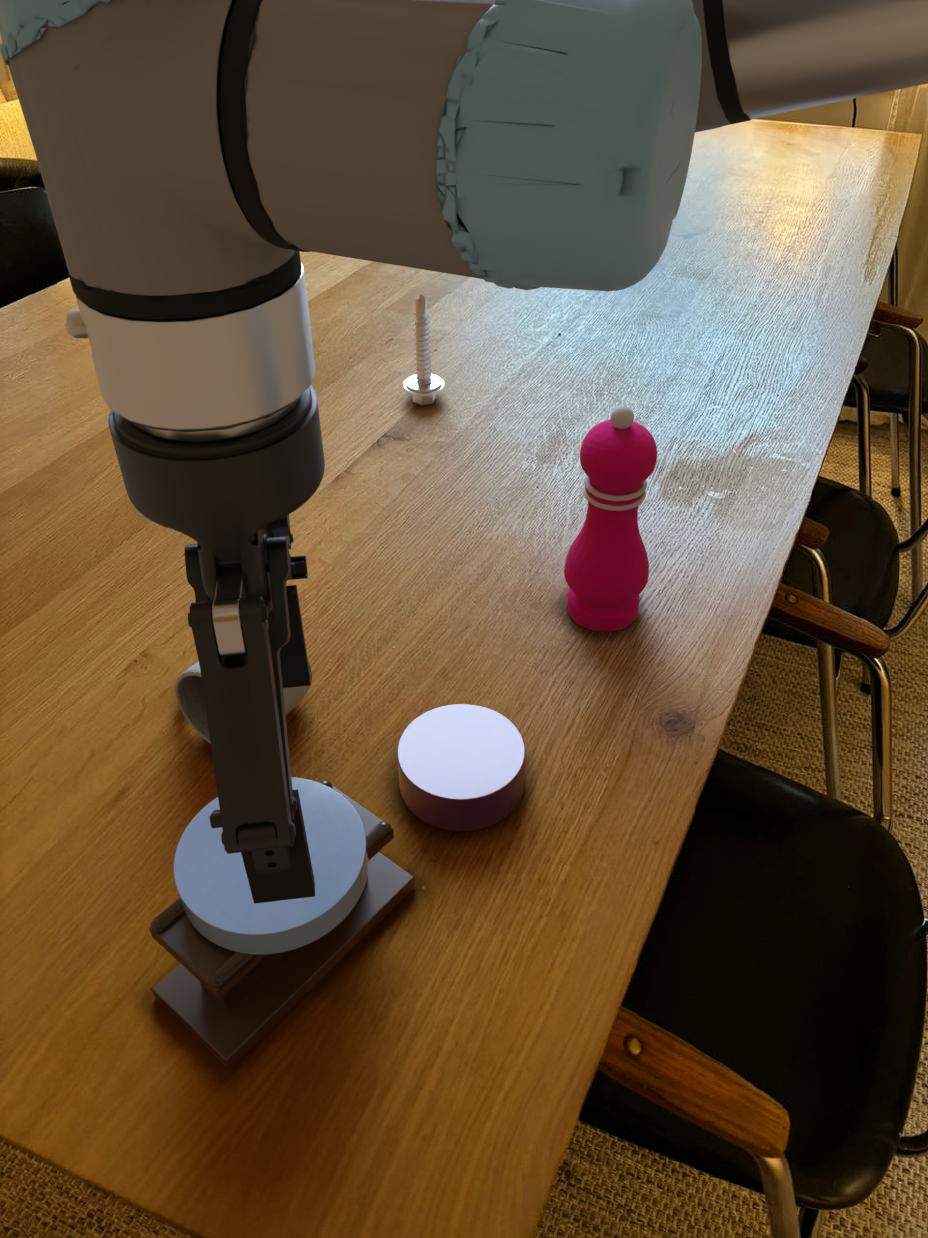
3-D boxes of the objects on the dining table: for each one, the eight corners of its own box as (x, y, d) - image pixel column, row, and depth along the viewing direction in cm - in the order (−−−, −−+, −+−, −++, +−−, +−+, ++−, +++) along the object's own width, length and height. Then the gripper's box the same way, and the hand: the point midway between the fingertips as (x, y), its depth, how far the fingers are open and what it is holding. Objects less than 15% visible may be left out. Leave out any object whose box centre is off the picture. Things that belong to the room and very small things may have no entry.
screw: (448, 392, 119) (439, 411, 116) (409, 388, 120) (399, 407, 116) (446, 286, 111) (436, 303, 107) (404, 283, 111) (393, 300, 108)
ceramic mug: (324, 702, 79) (312, 630, 75) (259, 770, 74) (241, 697, 69) (223, 659, 84) (205, 588, 79) (154, 721, 78) (131, 648, 73)
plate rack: (415, 887, 66) (410, 816, 61) (229, 1071, 57) (205, 1005, 52) (341, 833, 70) (331, 762, 65) (154, 998, 60) (126, 930, 56)
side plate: (407, 860, 59) (405, 839, 58) (267, 993, 53) (261, 973, 51) (281, 770, 64) (277, 749, 63) (141, 881, 58) (133, 860, 57)
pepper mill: (544, 608, 88) (555, 406, 75) (598, 574, 92) (617, 375, 79) (606, 648, 84) (629, 441, 71) (660, 610, 88) (691, 407, 75)
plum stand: (548, 774, 74) (551, 742, 71) (469, 854, 68) (469, 822, 66) (454, 717, 78) (453, 685, 76) (373, 788, 73) (370, 756, 71)
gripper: (143, 268, 45) (222, 623, 59) (38, 625, 26) (190, 1024, 40) (310, 258, 46) (349, 611, 59) (324, 599, 27) (376, 1000, 41)
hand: (285, 778), depth 50 cm, fingers open, 13 cm apart
